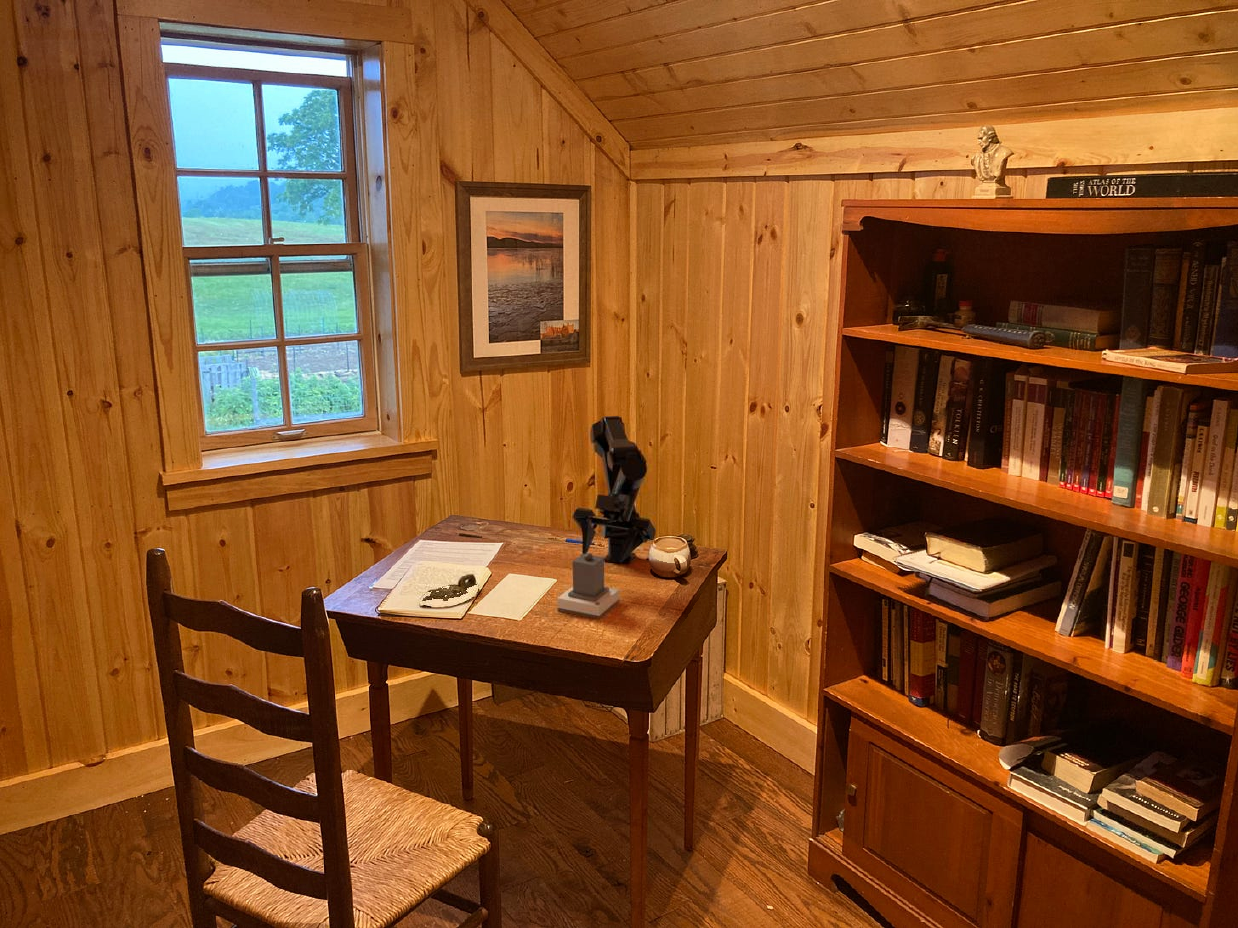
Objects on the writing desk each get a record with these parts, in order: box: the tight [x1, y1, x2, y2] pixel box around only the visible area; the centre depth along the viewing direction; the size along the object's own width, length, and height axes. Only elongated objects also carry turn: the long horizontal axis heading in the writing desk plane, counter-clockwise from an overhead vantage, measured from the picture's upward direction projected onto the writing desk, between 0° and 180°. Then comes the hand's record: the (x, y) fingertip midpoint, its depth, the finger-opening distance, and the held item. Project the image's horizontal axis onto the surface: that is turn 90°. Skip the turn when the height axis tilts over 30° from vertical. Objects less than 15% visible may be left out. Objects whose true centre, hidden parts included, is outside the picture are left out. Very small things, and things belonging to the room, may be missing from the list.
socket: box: [556, 586, 620, 620], centre depth 215 cm, size 10×10×3 cm
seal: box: [422, 573, 478, 601], centre depth 219 cm, size 9×5×15 cm
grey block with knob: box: [568, 552, 610, 602], centre depth 213 cm, size 7×7×11 cm
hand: (602, 557), depth 219 cm, fingers open, 9 cm apart
